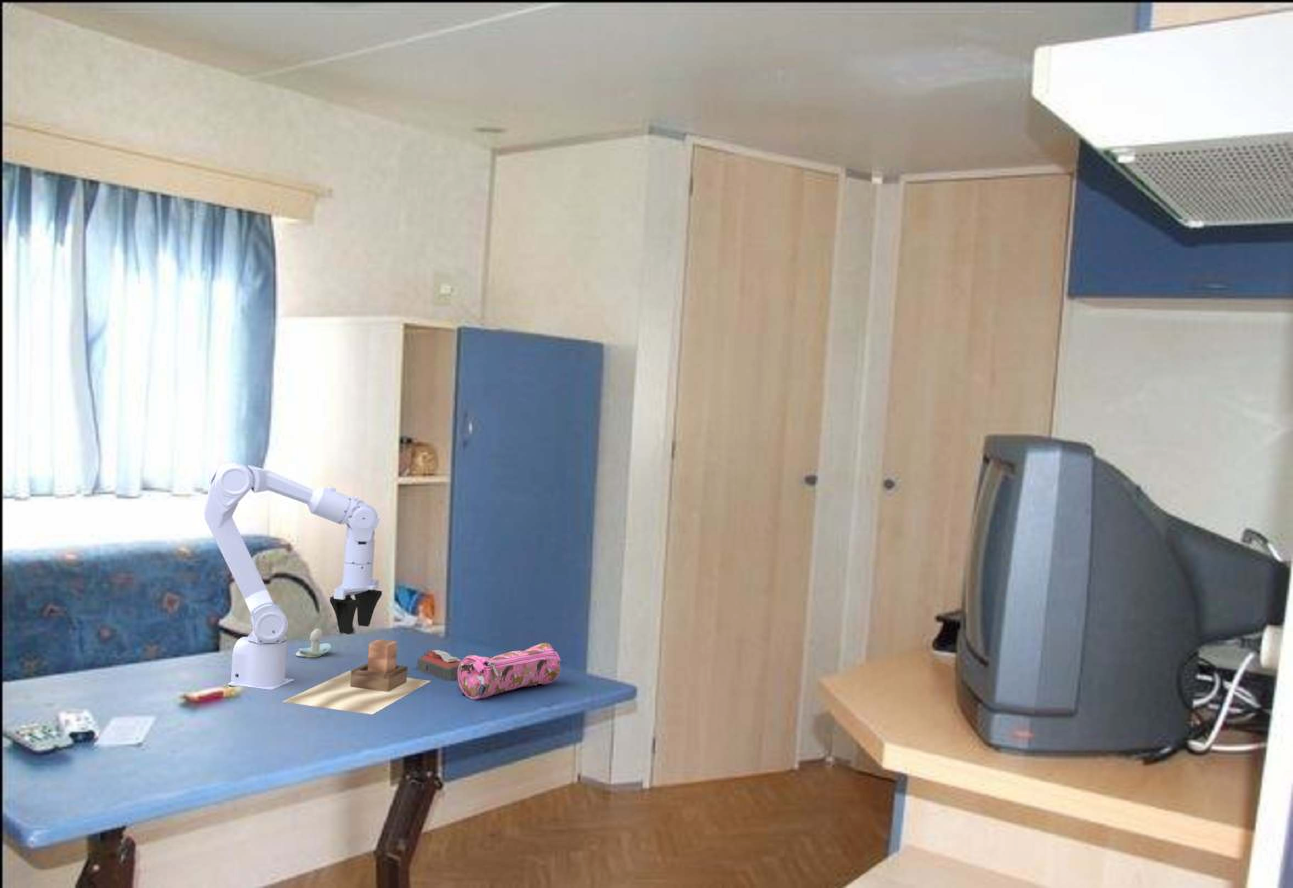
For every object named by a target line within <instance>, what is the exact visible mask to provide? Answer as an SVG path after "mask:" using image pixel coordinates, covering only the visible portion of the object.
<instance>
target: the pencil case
mask: <svg viewBox="0 0 1293 888" xmlns="http://www.w3.org/2000/svg"><path fill="white" fill-rule="evenodd" d="M561 661H562V660H561V658H560V656H559V653H558V652H557V651H556V650H554V648H553V646H552V645H551V644H550V643H547V642H542V643H539V644H537V645H533V646H531V647H529V648H527V649H521V650H512V651H509V652H504V653H502V654H498V655H495V656H493V657H489V656H488V657H487V656H480V655H476V654H474V655H473V654H470V655H469V654H468V655H467V656H465V657H464V658H463V659H462V660H461V663H460V664H459V667H458V672H457V675H458V679H457V682H458V683H457V684H458V687H459V689H460V690H461V692H462V693H463V694H464V695H465V696H466V698H468V697H469V698H468V699H471V700H473V699H475V700H474V701H476V700H479V699H480V698H481V699H485V698H488V697H491V696H493V695H497V694H500V693H505V692H510V691H513V690H516V689H518V688H522V687H526V688H527V687H534V686H538V685H537V684H542V685H548V684H547V683H549V684H551V683H553V682H555V681H556V680H557V679H558V678H559V676H560V674H561V663H560V662H561ZM533 685H534V686H533ZM481 699H480V700H481Z"/></svg>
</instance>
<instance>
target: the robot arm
mask: <svg viewBox="0 0 1293 888" xmlns="http://www.w3.org/2000/svg"><path fill="white" fill-rule="evenodd" d="M247 467H248V468H249V469H248V468H247ZM247 467H246V465H245V464H243V463H242V462H239V461H238V460H237V461H236V460H229V461H225V462H223V463H222V464H220V465H219V466H218V468H217V469H216V470H215V472H214V473H213V475H212V477H211V478H210V480H209V487H208V490H207V494H206V495H207V496H206V501H205V506H204V509H203V510H204V511H203V516H204V520H205V521H206V524H207V525H208V528H209V531H210V532H211V534H212V536H213V538H214V540H215V542H216V544H217V547H218V549H219V551H220V553H221V554H222V556H223V559H224V560H225V563H226V565H227V567H228V569H229V571H230V573H231V575H232V578H233V579H234V581H235V583H236V585H237V587H238V589H239V591H240V593H241V596H242V598H243V599H244V602H245V604H246V606H247V609H248V610H249V622H250V624H251V626H252V631H251V632H250V634H248V635H247V636H242V637H240V638H239V639H238V640H237V641H236V642H235V644H234V647H233V650H232V658H231V674H230V682H228V686H229V685H231V686H232V687H239V686H243V687H250V688H259V689H264V690H274V689H277V688H279V687H280V686H283V685H286V684H288V683H291V682H293V681H294V680H295V679H293V678H287V677H286V667H287V666H286V665H287V664H286V662H287V646H288V636H287V635H286V634H287V631H288V628H289V621H288V618H287V617H286V614H285V613H284V610H283V608H282V606H281V605H280V604H279V603H277V602H276V601H274V600H273V599H272V597H271V595H270V593H269V591H268V589H267V586H266V585H265V583H264V580H263V579H262V576H261V574H260V572H259V570H258V568H257V566H256V564H255V562H254V560H253V558H252V556H251V554H250V552H249V549H248V547H247V546H246V543H245V541H244V539H243V537H242V535H241V533H240V531H239V528H238V526H237V525H236V522H235V521H234V518H233V515H234V513H235V511H236V509H237V508H238V506H239V502H240V501H241V500H242V499H243V498H244V497H245V496H246V495H247V494H248V493H249V492H250V491H252V492H253V493H256V494H257V493H261V492H266V491H267V492H271V493H274V494H278V495H281V496H283V497H285V498H289V499H290V500H291V499H292V500H295V501H297V502H299V503H300V502H301V503H303V504H306V505H307V507H308V509H309V512H310V513H311V514H313V515H315V516H317V517H320V518H323V519H325V520H327V521H331V522H333V523H336V524H338V525H346V532H345V533H346V537H345V540H344V550H343V551H344V555H343V568H342V569H343V572H342V583H341V584H339V586H338V587H336V588H334V589H333V591H334V592H333V596H330V597H329V603H330V605H331V606H332V608H333V610H334V614H335V617H336V622H337V626H338V631H339V634H346V635H350V634H351V632H352V630H353V624H354V618H355V614H356V615H357V624H358V625H357V626H358V627H359V626H360V627H368V628H369V626H370V624H371V622H372V618H373V615H374V611H375V608H376V606H377V603H379V600H380V598H381V597H382V596H383V591H382V590H377V589H379V580H380V579H378V578H373V575H374V574H373V573H374V571H373V570H374V558H375V557H374V556H375V544H376V543H375V540H376V539H375V534H376V533H375V529H376V528H377V527H378V525H379V523H380V519H379V515H378V513H377V510H376V509H375V508H374V507H373V506H372V505H370V504H368V503H367V502H365V501H364V500H359V497H356V496H355V495H353V496H348V495H346V494H343V493H341V492H339V491H336V490H337V487H334V486H332V485H329V486H328V487H326V486H320V487H318V488H314V489H313V488H310V487H308V486H306V485H303V484H302V483H299V482H295V481H293V480H292V479H289V478H287V477H285V476H283V475H280V474H278V473H276V472H273V471H271V470H269V469H265V468H261V467H259V466H254V465H250V464H248V465H247ZM352 596H354V599H353V597H352ZM356 610H357V611H356ZM231 686H230V687H231Z"/></svg>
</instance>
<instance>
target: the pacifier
mask: <svg viewBox="0 0 1293 888" xmlns="http://www.w3.org/2000/svg"><path fill="white" fill-rule="evenodd" d="M322 638H323V630H322V629H321V628H315V629H314V630H313V631H311V633H310V635H309V641H310V642H311V644H310V647H304V648H303V647H302V648H299V647H298V651H297V652H295V655H296V656H297V657H302V658H303V657H306V658H308V657H313V658H318V656H319V657H322V655H324V654H326V653H328V652H329V651H330V650H331V649H332V645H331V644H330V643H320V642H321V639H322Z"/></svg>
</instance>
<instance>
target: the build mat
mask: <svg viewBox="0 0 1293 888" xmlns="http://www.w3.org/2000/svg"><path fill="white" fill-rule="evenodd" d="M407 675H408V666H407V665H400V664H396V669H395V670H393V671H391V672H389V673H387V674H385V673H377V672H370V671H368V662H367V663H365V664H363V665H361V666H358V667H356V668H354V669H352V670H351V669H350V670H348V671H346V672H344V673H341V674H340V675H339V674H338V675H337V676H335V677H333V678H331V679H328V680H326V681H324V682H322V683H320V684H317V685H315V686H313V687H311V688H308V689H307V690H304V691H303V692H300V693H298V694H296V695H294V696H293V695H292V696H291V697H289V698H287V699H285V700H283V701H282V703H289V704H296V705H301V706H309V707H316V708H323V709H329V710H330V709H331V710H336V711H337V710H339V711H343V712H344V711H345V712H351V713H352V712H353V713H358V714H359V713H360V714H366V715H367V714H368V715H374V714H376V713H377V712H380V711H381V710H382V709H384V708H386V707H389V706H391V705H392V704H393V703H395V702H397V701H399V700H401V699H403V698H404V697H406V696H408V695H410V694H412V693H413V692H414V691H417V690H418V689H420V688H421V687H423V686H425V685H427V684H429V683H431V682H432V680H428V679H427V680H426V679H420V678H419V679H418V678H413V677H412V678H411V677H408V676H407Z"/></svg>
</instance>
